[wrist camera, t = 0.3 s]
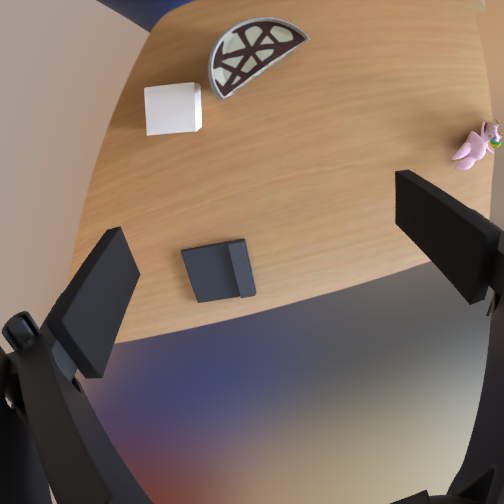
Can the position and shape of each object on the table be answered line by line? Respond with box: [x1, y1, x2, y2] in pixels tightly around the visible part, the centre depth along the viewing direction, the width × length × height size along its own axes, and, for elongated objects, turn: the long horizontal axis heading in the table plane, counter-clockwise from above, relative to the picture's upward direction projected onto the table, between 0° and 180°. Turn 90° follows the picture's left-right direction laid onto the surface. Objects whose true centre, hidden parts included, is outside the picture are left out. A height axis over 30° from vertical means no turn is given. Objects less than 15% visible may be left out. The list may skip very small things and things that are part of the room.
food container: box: [208, 17, 310, 101], centre depth 30 cm, size 12×6×10 cm, turn 128°
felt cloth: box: [181, 239, 256, 303], centre depth 49 cm, size 10×10×1 cm
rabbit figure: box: [452, 120, 504, 170], centre depth 37 cm, size 6×6×15 cm
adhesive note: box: [144, 82, 202, 136], centre depth 35 cm, size 6×6×6 cm
